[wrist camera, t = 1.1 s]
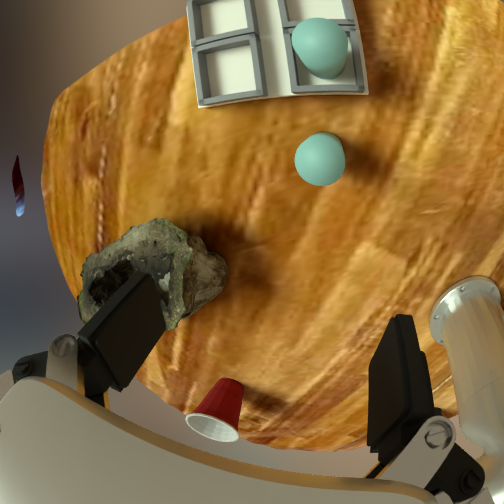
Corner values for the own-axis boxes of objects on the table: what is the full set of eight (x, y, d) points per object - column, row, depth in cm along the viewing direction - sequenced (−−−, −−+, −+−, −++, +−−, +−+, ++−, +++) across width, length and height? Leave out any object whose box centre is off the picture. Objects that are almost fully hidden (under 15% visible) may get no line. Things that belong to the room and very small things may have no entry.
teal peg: (341, 131, 25) (344, 136, 18) (343, 167, 27) (346, 186, 20) (304, 131, 26) (292, 137, 19) (307, 167, 28) (296, 186, 21)
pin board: (346, -15, 16) (346, -58, 8) (367, 95, 22) (382, 85, 14) (192, 9, 21) (145, -14, 13) (204, 108, 28) (155, 110, 20)
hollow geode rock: (125, 264, 51) (118, 338, 46) (74, 245, 41) (62, 329, 36) (246, 243, 39) (244, 350, 34) (191, 205, 29) (180, 349, 24)
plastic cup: (265, 388, 50) (247, 438, 40) (241, 403, 56) (223, 445, 46) (219, 362, 49) (194, 411, 39) (201, 380, 55) (178, 422, 45)
